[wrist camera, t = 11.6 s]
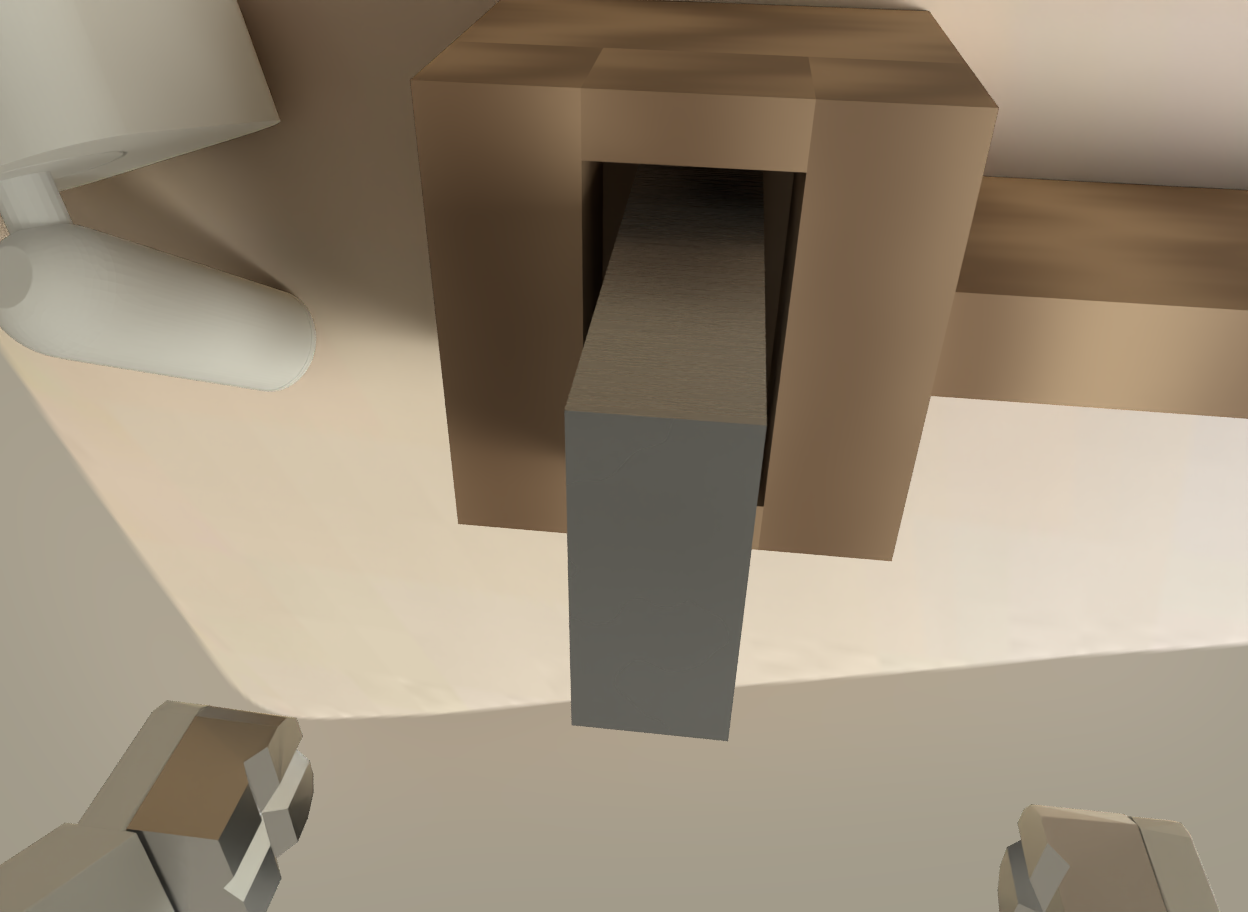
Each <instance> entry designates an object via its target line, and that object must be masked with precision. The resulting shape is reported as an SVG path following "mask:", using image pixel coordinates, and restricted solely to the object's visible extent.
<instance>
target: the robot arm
mask: <svg viewBox="0 0 1248 912" xmlns="http://www.w3.org/2000/svg"><path fill="white" fill-rule="evenodd" d="M302 737H303V735H302V732H301V730H300V727H299V723H298V720H297V718H295V717H287V716H280V715H273V714H265V713H257V712H250V711H243V710H236V709H229V708H221V707H214V706H210V705H202V704H193V703H185V702H177V701H169V700H167V701H165V702H164V703H163V704H162V705H160V706H159V707H158V708H157V709H155V710H154V711H153V712H152V713H151V715H150V716H149V717H148V719H147V720H146V722H145V723H144V725H143V726H142V728H141V729H140V731H139V732H138V734H137V736H136V737H135V738H134V740H133V742H132V743H131V744H130V746H129V747H128V749H127V750H126V752H125V753H124V755H123V756H122V758H121V759H120V761H119V762H118V764H117V765H116V767H115V768H114V770H113V771H112V773H111V774H110V776H109V778H108V779H107V780H106V782H105V783H104V785H103V786H102V788H101V789H100V791H99V792H98V794H97V796H96V797H95V798H94V800H93V802H92V803H91V804H90V806H89V807H88V809H87V810H86V812H85V813H84V815H83V816H82V818H81V819H80V821H79V822H78V824H72V823H64V824H62V825H61V826H59V827H58V828H56V829H55V830H53V831H52V832H50V833H49V834H47V835H45V836H44V837H42V838H41V839H39V840H38V841H36V842H35V843H33V844H32V845H30V846H29V847H27V848H26V849H24V850H23V851H21V852H20V853H18V854H16V855H15V856H13V857H12V858H10V859H9V860H7V861H6V862H4V863H3V864H1V865H0V912H266V911H267V909H268V907H269V904H270V902H271V900H272V898H273V896H274V894H275V891H276V889H277V887H278V885H279V883H280V880H281V874H280V870H279V866H278V862H277V857H278V856H280V855H281V854H282V853H284V852H285V851H286V850H288V849H289V848H290V847H292V846H293V845H294V844H296V843H297V842H298V840H299V838H300V835H301V833H302V831H303V828H304V826H305V824H306V821H307V819H308V815H309V811H310V806H311V802H312V797H313V793H314V785H313V771H312V768H311V763H310V760H308V759H307V758H306V757H305V756H304V755H303V754H301V753H300V752H299V751H298V750H297V747H298V745H299V743H300V741H301V739H302ZM1018 828H1019V833H1020V837H1021V840H1020V841H1018V842H1016V843H1014V844H1012V845H1010V846H1008V847H1007V849H1006V851H1005V854H1004V856H1003V859H1002V862H1001V864H1000V871H999V881H998V903H999V912H1221V911H1220V909H1219V906H1218V904H1217V901H1216V898H1215V896H1214V893H1213V891H1212V888H1211V886H1210V883H1209V880H1208V878H1207V875H1206V873H1205V870H1204V868H1203V865H1202V863H1201V860H1200V858H1199V855H1198V852H1197V850H1196V847H1195V845H1194V843H1193V840H1192V837H1191V835H1190V833H1189V831H1188V830H1187V829H1186V828H1185V827H1184V826H1183V825H1182V824H1181V823H1180V822H1176V821H1172V820H1162V819H1151V818H1141V817H1131V816H1126V815H1125V814H1120V813H1110V812H1101V811H1091V810H1081V809H1071V808H1062V807H1052V806H1042V805H1033V804H1031V805H1029V806H1028V807H1026V808H1025V809H1024V810H1023V812H1022V814H1021V816H1020V819H1019V821H1018Z"/></svg>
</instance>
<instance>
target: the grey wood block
mask: <svg viewBox="0 0 1248 912" xmlns="http://www.w3.org/2000/svg"><path fill="white" fill-rule="evenodd" d="M564 417H565V460H566V502H567V545H568V587H569V630H570V673H571V713H572V725H576V726H586V727H596V728H605V729H615V730H625V731H634V732H644V733H654V734H664V735H674V736H684V737H693V738H703V739H713V740H723V741H728V736H729V728H730V720H731V712H732V703H733V696H734V688H735V680H736V671H737V663H738V655H739V647H740V639H741V631H742V623H743V615H744V606H745V598H746V590H747V582H748V574H749V566H750V558H751V550H752V541H753V533H754V525H755V517H756V509H757V501H758V493H759V485H760V476H761V468H762V460H763V452H764V444H765V436H766V428H767V407H766V337H765V266H764V196H763V170H749V169H731V168H712V167H694V166H675V165H656V164H639V166H638V169H637V172H636V176H635V179H634V182H633V185H632V189H631V192H630V195H629V199H628V202H627V205H626V209H625V212H624V215H623V218H622V222H621V225H620V228H619V232H618V235H617V238H616V242H615V245H614V248H613V251H612V255H611V258H610V261H609V265H608V268H607V271H606V275H605V278H604V281H603V284H602V288H601V291H600V294H599V298H598V301H597V304H596V308H595V311H594V314H593V317H592V321H591V324H590V327H589V331H588V334H587V337H586V341H585V344H584V347H583V350H582V354H581V357H580V360H579V364H578V367H577V370H576V374H575V377H574V380H573V383H572V387H571V390H570V393H569V397H568V400H567V403H566V406H565V410H564Z"/></svg>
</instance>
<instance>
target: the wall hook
mask: <svg viewBox="0 0 1248 912" xmlns="http://www.w3.org/2000/svg"><path fill="white" fill-rule="evenodd" d="M279 122H280V118H279V116H278V113H277V110H276V107H275V105H274V102H273V99H272V96H271V94H270V91H269V88H268V85H267V82H266V80H265V77H264V74H263V71H262V69H261V66H260V63H259V60H258V58H257V55H256V52H255V49H254V47H253V44H252V41H251V38H250V35H249V33H248V30H247V27H246V24H245V22H244V19H243V16H242V13H241V11H240V8H239V5H238V2H237V0H0V214H1V216H2V218H3V220H4V223H5V225H6V227H7V229H8V231H9V233H10V235H9V236H7V237H6V238H4V239H3V240H2V241H1V242H0V327H1V328H2V329H3V330H4V331H5V332H6V333H7V334H8V335H9V336H10V337H11V338H13V339H14V340H15V341H17V342H18V343H20V344H22V345H23V346H25V347H27V348H29V349H31V350H33V351H35V352H38V353H41V354H44V355H47V356H51V357H56V358H61V359H66V360H72V361H78V362H84V363H90V364H96V365H103V366H109V367H115V368H121V369H127V370H134V371H140V372H146V373H152V374H158V375H165V376H171V377H177V378H184V379H190V380H196V381H203V382H209V383H215V384H222V385H228V386H234V387H241V388H247V389H253V390H259V391H267V392H273V391H279V390H282V389H285V388H287V387H289V386H291V385H293V384H294V383H295V382H297V381H298V380H299V379H300V378H301V377H302V376H303V375H304V373H305V372H306V370H307V369H308V367H309V366H310V364H311V361H312V359H313V356H314V352H315V347H316V329H315V324H314V321H313V318H312V316H311V314H310V312H309V310H308V308H307V307H306V306H305V305H304V303H303V302H302V301H301V300H299V299H298V298H297V297H295V296H294V295H292V294H290V293H287V292H284V291H281V290H278V289H275V288H272V287H269V286H266V285H263V284H260V283H257V282H253V281H250V280H247V279H244V278H241V277H238V276H235V275H232V274H229V273H226V272H223V271H220V270H217V269H214V268H211V267H208V266H205V265H202V264H199V263H195V262H192V261H189V260H186V259H183V258H180V257H177V256H174V255H171V254H168V253H165V252H162V251H159V250H156V249H153V248H150V247H147V246H144V245H141V244H137V243H134V242H131V241H128V240H125V239H122V238H119V237H116V236H113V235H110V234H106V233H103V232H100V231H97V230H93V229H90V228H87V227H84V226H80V225H75V224H73V222H72V220H71V217H70V215H69V213H68V211H67V209H66V206H65V204H64V202H63V200H62V197H61V195H60V193H59V191H64V190H67V189H71V188H75V187H79V186H82V185H86V184H89V183H93V182H96V181H99V180H102V179H105V178H109V177H112V176H115V175H118V174H122V173H125V172H128V171H131V170H134V169H138V168H141V167H144V166H147V165H151V164H154V163H157V162H160V161H163V160H167V159H170V158H173V157H176V156H180V155H183V154H186V153H189V152H192V151H196V150H199V149H202V148H205V147H209V146H212V145H215V144H218V143H221V142H225V141H228V140H231V139H234V138H238V137H241V136H244V135H247V134H251V133H254V132H257V131H260V130H263V129H265V128H268V127H271V126H273V125H276V124H278V123H279Z"/></svg>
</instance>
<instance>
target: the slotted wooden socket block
mask: <svg viewBox="0 0 1248 912" xmlns="http://www.w3.org/2000/svg"><path fill="white" fill-rule="evenodd" d="M410 83H411V92H412V101H413V111H414V120H415V129H416V138H417V148H418V157H419V166H420V175H421V184H422V194H423V203H424V212H425V221H426V231H427V240H428V249H429V258H430V268H431V277H432V286H433V295H434V304H435V314H436V323H437V332H438V341H439V351H440V360H441V369H442V378H443V387H444V397H445V406H446V415H447V424H448V434H449V443H450V452H451V461H452V470H453V480H454V489H455V498H456V507H457V517H458V524H466V525H477V526H489V527H501V528H512V529H524V530H535V531H547V532H559V533H567V502H566V460H565V417H564V410H565V406H566V403H567V400H568V397H569V393H570V390H571V387H572V383H573V380H574V377H575V374H576V370H577V367H578V364H579V360H580V357H581V354H582V350H583V347H584V344H585V341H586V337H587V334H588V331H589V327H590V324H591V321H592V317H593V314H594V311H595V308H596V304H597V301H598V298H599V294H600V291H601V288H602V284H603V281H604V278H605V275H606V271H607V268H608V265H609V261H610V258H611V255H612V251H613V248H614V245H615V242H616V238H617V235H618V232H619V228H620V225H621V222H622V218H623V215H624V212H625V209H626V205H627V202H628V199H629V195H630V192H631V189H632V185H633V182H634V179H635V176H636V172H637V169H638V166H639V164H656V165H675V166H694V167H712V168H731V169H749V170H763V196H764V266H765V337H766V407H767V428H766V436H765V444H764V452H763V460H762V468H761V476H760V485H759V493H758V501H757V509H756V517H755V525H754V533H753V541H752V549H756V550H768V551H779V552H791V553H803V554H814V555H826V556H838V557H849V558H861V559H872V560H884V561H892V557H893V553H894V549H895V544H896V540H897V536H898V532H899V528H900V523H901V519H902V515H903V511H904V507H905V502H906V498H907V494H908V490H909V485H910V481H911V477H912V473H913V469H914V464H915V460H916V456H917V452H918V447H919V443H920V439H921V435H922V431H923V426H924V422H925V418H926V414H927V409H928V405H929V401H930V397H931V396H940V397H954V398H968V399H982V400H996V401H1010V402H1024V403H1038V404H1052V405H1065V406H1079V407H1093V408H1107V409H1121V410H1135V411H1149V412H1163V413H1177V414H1191V415H1205V416H1218V417H1232V418H1246V419H1248V190H1231V189H1212V188H1193V187H1174V186H1155V185H1137V184H1118V183H1099V182H1080V181H1062V180H1043V179H1024V178H1005V177H987V176H983V173H984V169H985V165H986V160H987V156H988V152H989V148H990V144H991V139H992V135H993V131H994V127H995V122H996V118H997V114H998V110H999V107H998V106H997V105H996V103H995V102H994V101H993V99H992V98H991V96H990V95H989V94H988V92H987V91H986V89H985V88H984V87H983V85H982V84H981V83H980V81H979V80H978V78H977V77H976V76H975V74H974V73H973V71H972V70H971V69H970V67H969V66H968V64H967V63H966V62H965V60H964V59H963V58H962V56H961V55H960V53H959V52H958V51H957V49H956V48H955V46H954V45H953V44H952V42H951V41H950V39H949V38H948V37H947V35H946V34H945V33H944V31H943V30H942V28H941V27H940V26H939V24H938V23H937V21H936V20H935V19H934V17H933V16H932V14H931V13H930V12H929V11H913V10H887V9H862V8H837V7H812V6H787V5H761V4H736V3H711V2H686V1H661V0H500V1H499V2H498V3H497V4H496V5H495V6H493V7H492V8H491V9H490V10H489V11H488V12H487V13H485V14H484V15H483V16H482V17H481V18H480V19H479V20H478V21H476V22H475V23H474V24H473V25H472V26H471V27H470V28H469V29H467V30H466V31H465V32H464V33H463V34H462V35H461V36H459V37H458V38H457V39H456V40H455V41H454V42H453V43H452V44H450V45H449V46H448V47H447V48H446V49H445V50H444V51H443V52H441V53H440V54H439V55H438V56H437V57H436V58H435V59H433V60H432V61H431V62H430V63H429V64H428V65H427V66H426V67H424V68H423V69H422V70H421V71H420V72H419V73H418V74H417V75H415V76H414V77H413V78H412V79H411V80H410Z"/></svg>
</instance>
